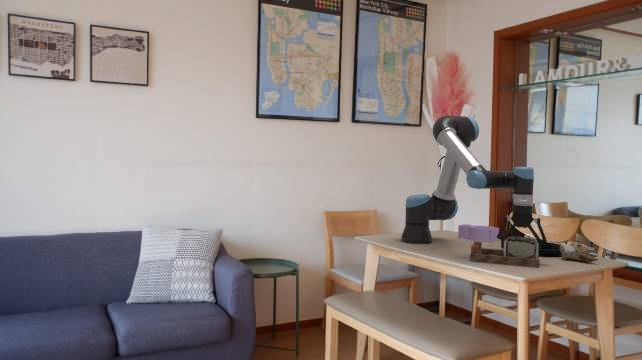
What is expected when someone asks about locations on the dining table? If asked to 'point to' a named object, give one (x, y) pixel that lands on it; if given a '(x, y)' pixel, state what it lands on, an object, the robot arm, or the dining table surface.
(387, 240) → the dining table surface
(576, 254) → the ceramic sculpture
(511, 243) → the food container
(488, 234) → the purple block
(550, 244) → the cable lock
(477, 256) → the brown wooden tray
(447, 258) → the dining table surface
